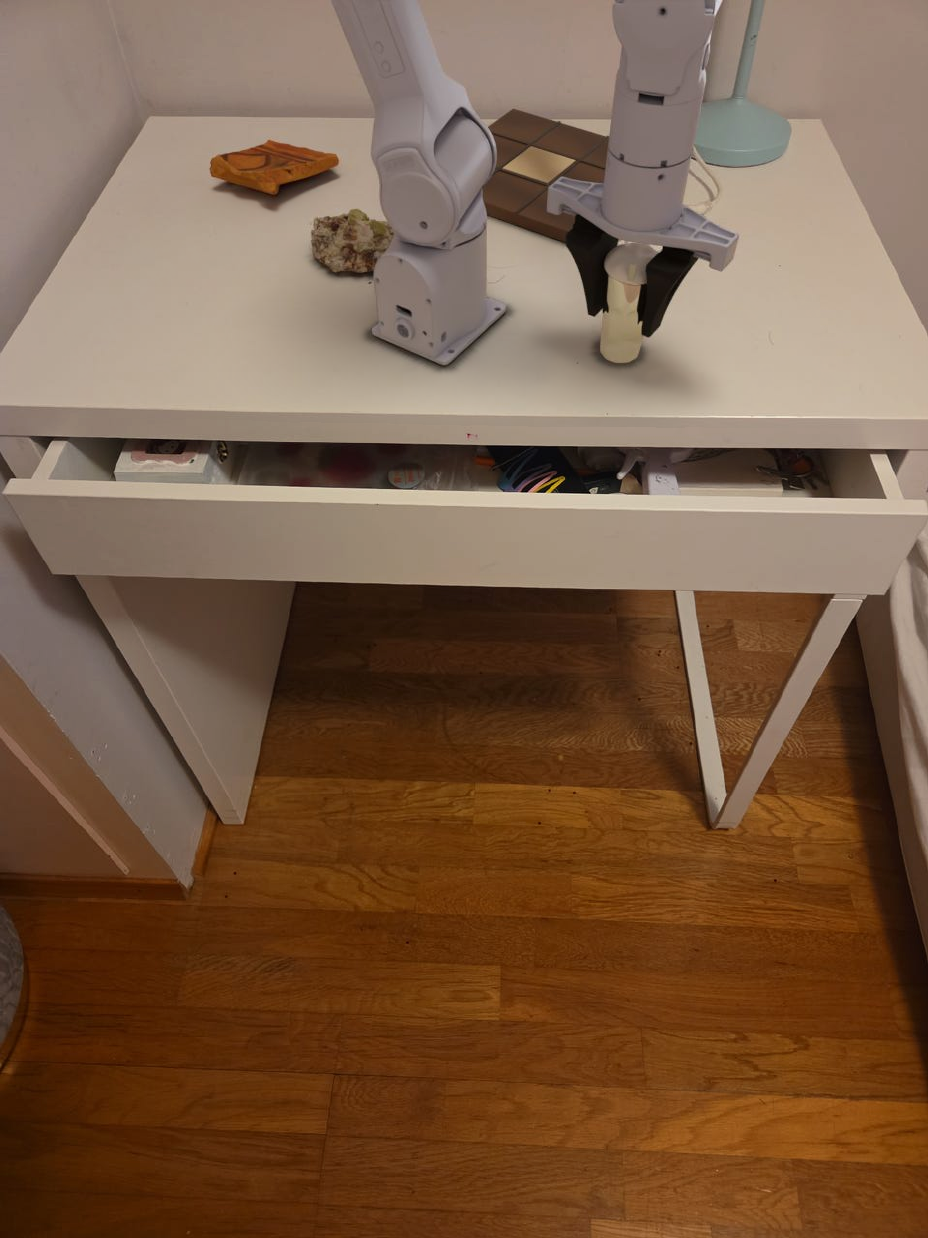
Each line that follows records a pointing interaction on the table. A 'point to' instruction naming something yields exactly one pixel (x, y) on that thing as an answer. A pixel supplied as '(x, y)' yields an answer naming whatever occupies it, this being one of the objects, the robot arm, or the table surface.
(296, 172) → the pottery fragment
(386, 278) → the robot arm
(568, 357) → the table surface
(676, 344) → the table surface
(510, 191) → the board
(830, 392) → the table surface
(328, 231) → the mineral rock
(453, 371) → the table surface
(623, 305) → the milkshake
